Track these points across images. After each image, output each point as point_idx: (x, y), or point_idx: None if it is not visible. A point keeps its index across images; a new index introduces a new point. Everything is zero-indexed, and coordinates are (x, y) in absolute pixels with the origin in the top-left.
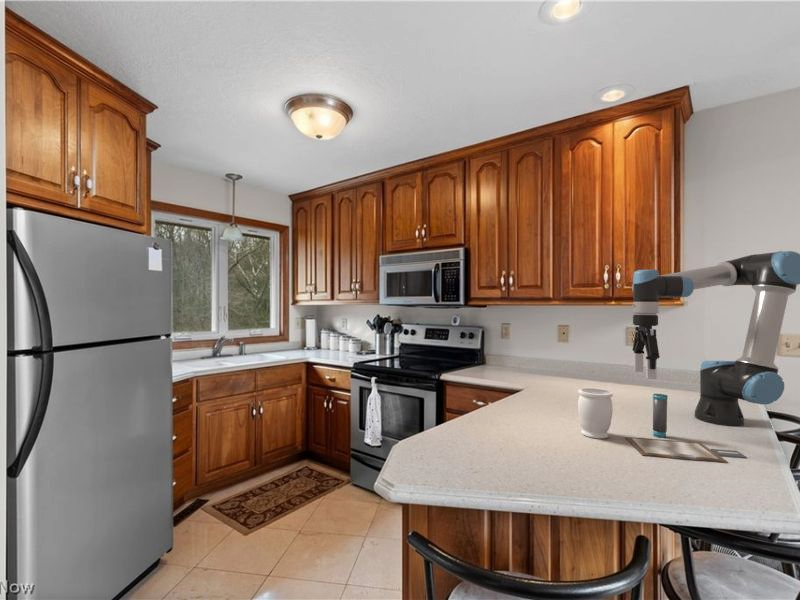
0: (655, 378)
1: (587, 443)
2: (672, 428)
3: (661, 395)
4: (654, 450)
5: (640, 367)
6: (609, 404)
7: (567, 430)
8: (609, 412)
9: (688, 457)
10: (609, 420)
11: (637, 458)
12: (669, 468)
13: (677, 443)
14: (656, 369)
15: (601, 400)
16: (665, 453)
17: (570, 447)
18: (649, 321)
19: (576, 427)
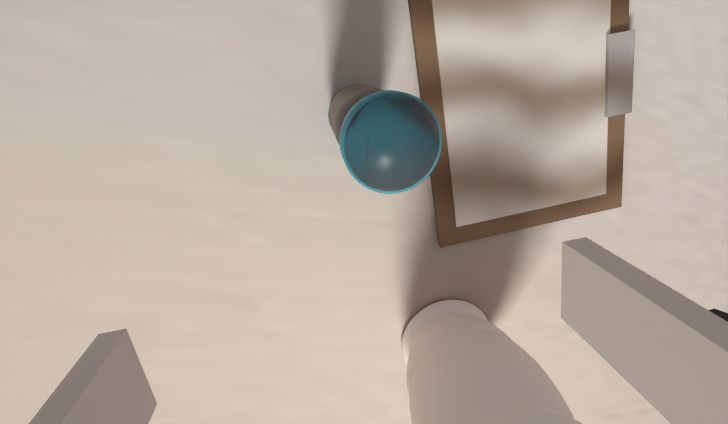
0: (587, 247)
1: (543, 351)
2: (170, 21)
3: (407, 137)
4: (576, 164)
5: (111, 397)
6: (552, 390)
7: None
8: (536, 363)
9: (631, 57)
10: (508, 338)
11: (644, 220)
12: (710, 138)
13: (462, 59)
14: (672, 290)
15: None
16: (599, 131)
17: (593, 387)
18: None
19: (373, 395)
